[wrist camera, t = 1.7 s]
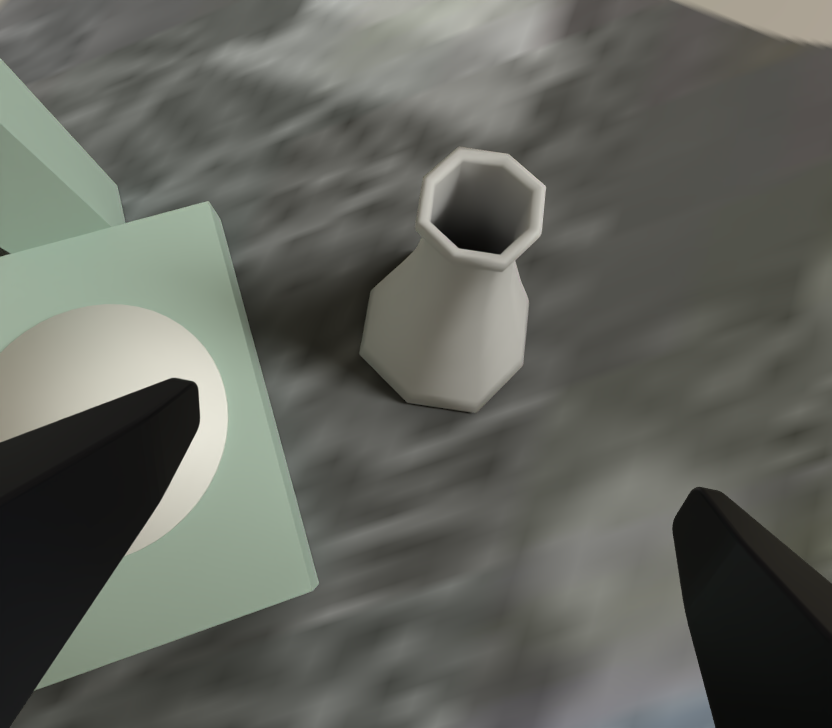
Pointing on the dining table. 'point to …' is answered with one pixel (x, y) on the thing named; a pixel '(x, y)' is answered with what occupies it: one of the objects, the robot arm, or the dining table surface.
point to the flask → (458, 285)
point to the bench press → (142, 385)
